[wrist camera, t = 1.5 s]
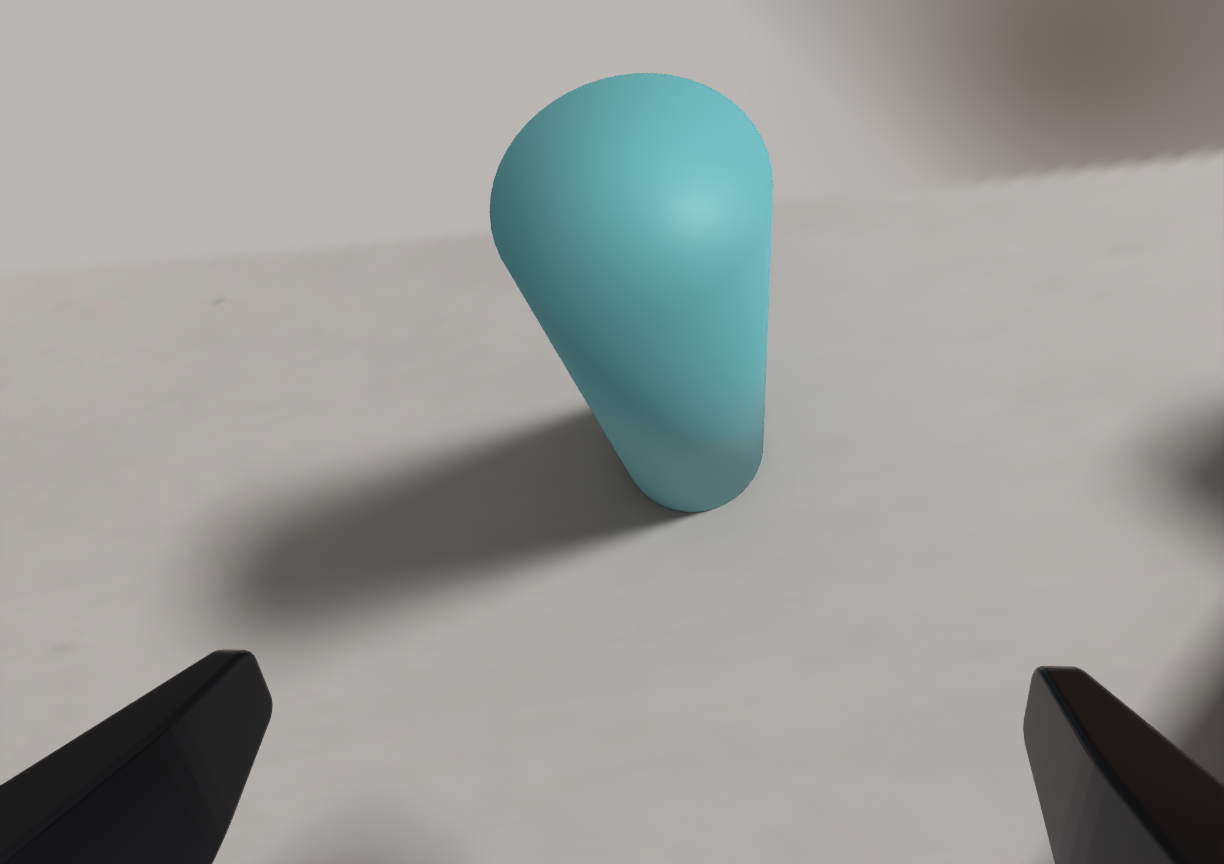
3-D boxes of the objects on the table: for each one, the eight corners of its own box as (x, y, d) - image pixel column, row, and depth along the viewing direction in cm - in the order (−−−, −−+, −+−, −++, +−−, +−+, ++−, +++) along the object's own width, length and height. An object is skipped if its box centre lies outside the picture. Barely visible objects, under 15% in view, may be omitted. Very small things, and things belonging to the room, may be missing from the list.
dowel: (727, 535, 22) (698, 364, 10) (599, 477, 23) (440, 265, 11) (785, 408, 23) (819, 116, 11) (658, 358, 24) (567, 44, 12)
